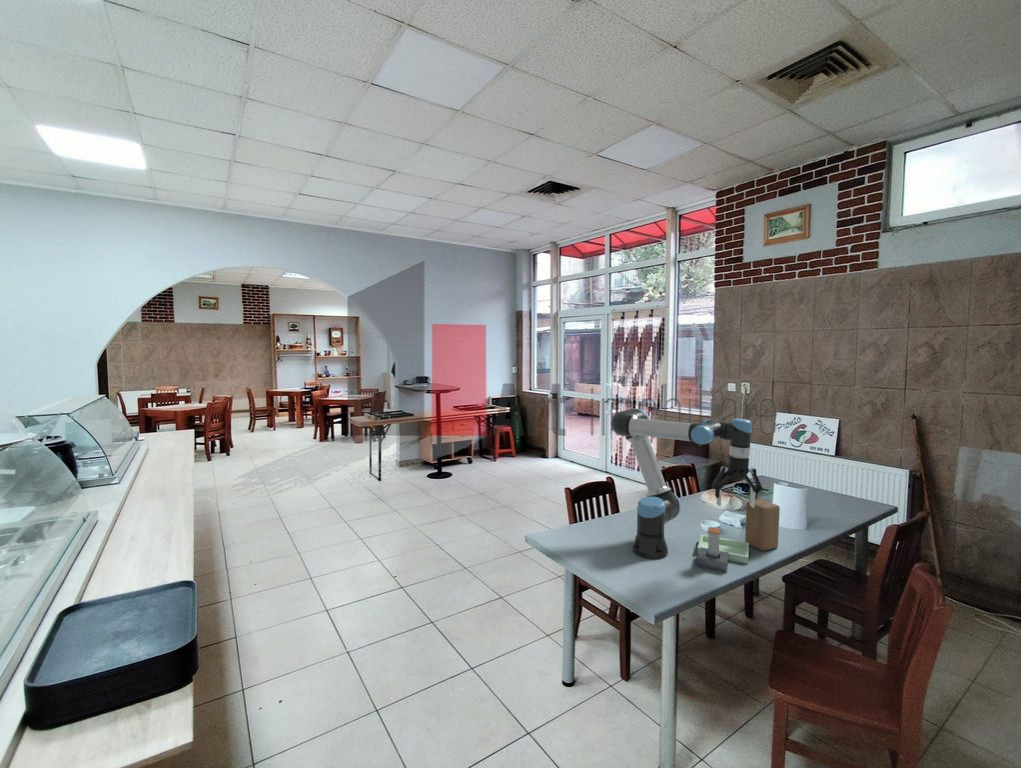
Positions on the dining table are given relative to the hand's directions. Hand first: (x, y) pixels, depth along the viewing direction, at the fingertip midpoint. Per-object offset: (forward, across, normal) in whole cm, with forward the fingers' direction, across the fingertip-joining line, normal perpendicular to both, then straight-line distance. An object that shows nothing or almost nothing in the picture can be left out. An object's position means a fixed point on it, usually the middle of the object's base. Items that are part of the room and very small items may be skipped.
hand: (735, 505), depth 196 cm
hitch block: (+25, -8, -2) cm, 26 cm away
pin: (+25, -8, -2) cm, 26 cm away
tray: (+25, +1, +10) cm, 27 cm away
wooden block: (+25, +21, +18) cm, 37 cm away
